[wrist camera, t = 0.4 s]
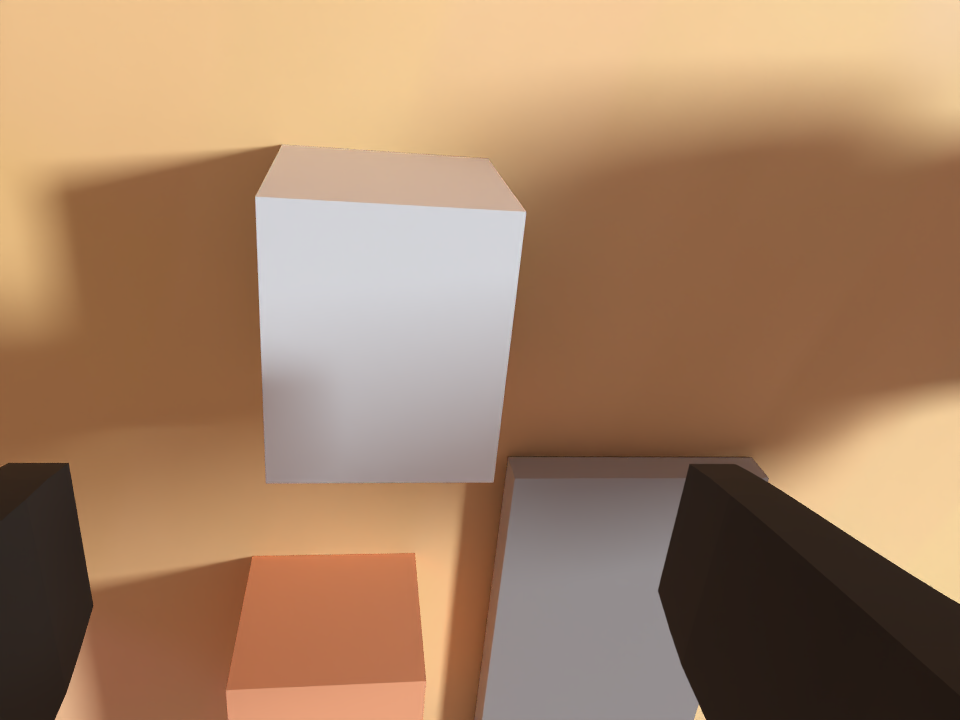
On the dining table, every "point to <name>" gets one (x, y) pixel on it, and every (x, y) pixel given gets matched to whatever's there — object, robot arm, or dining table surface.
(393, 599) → the terracotta brick
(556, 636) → the gray block
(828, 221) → the dining table surface
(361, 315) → the tall white block
